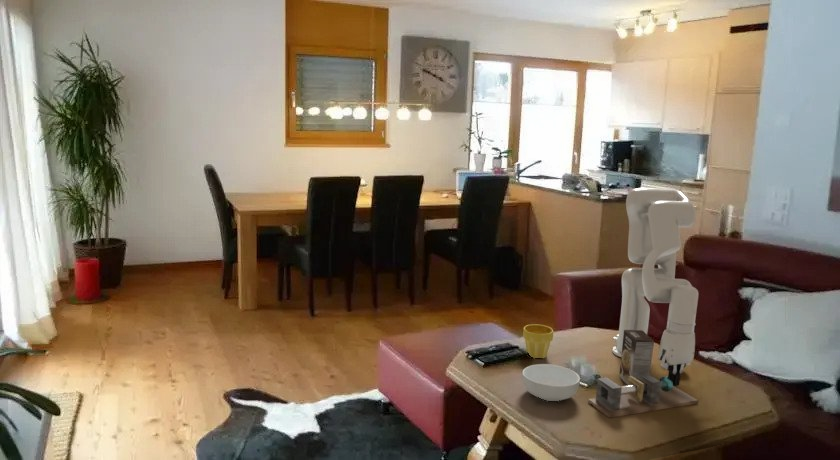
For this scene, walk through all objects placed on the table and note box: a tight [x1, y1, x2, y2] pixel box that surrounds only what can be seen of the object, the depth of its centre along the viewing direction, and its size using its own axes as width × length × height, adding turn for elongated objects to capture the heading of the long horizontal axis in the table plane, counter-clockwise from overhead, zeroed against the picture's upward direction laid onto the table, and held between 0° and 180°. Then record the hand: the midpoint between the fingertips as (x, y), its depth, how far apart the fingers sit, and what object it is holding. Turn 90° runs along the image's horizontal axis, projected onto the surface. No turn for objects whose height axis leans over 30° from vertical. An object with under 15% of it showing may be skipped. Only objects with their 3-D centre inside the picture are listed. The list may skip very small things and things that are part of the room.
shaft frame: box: [587, 372, 699, 419], centre depth 191 cm, size 32×10×8 cm, turn 111°
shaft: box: [620, 375, 673, 395], centre depth 190 cm, size 21×4×4 cm, turn 111°
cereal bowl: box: [521, 363, 581, 402], centre depth 193 cm, size 17×17×7 cm
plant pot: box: [522, 323, 554, 359], centre depth 224 cm, size 10×10×10 cm
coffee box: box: [618, 330, 655, 386], centre depth 205 cm, size 9×6×16 cm
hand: (673, 384), depth 195 cm, fingers closed
